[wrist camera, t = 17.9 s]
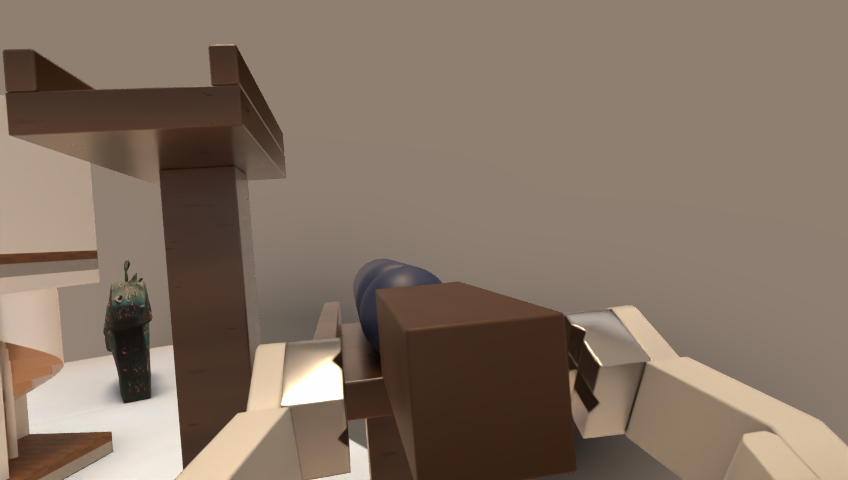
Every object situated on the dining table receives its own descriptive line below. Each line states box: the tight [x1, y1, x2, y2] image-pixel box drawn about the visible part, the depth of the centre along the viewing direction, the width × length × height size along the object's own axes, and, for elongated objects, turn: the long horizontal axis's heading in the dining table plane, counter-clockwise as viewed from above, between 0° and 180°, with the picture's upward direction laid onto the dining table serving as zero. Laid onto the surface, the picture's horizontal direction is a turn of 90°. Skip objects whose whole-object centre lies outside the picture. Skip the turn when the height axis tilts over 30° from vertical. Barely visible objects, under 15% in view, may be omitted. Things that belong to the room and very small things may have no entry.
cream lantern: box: [0, 95, 113, 480], centre depth 50 cm, size 11×11×35 cm
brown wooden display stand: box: [3, 45, 414, 480], centre depth 21 cm, size 12×14×26 cm
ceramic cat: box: [104, 261, 152, 403], centre depth 82 cm, size 20×6×20 cm, turn 29°
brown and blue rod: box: [353, 259, 576, 480], centre depth 19 cm, size 23×3×3 cm, turn 9°
